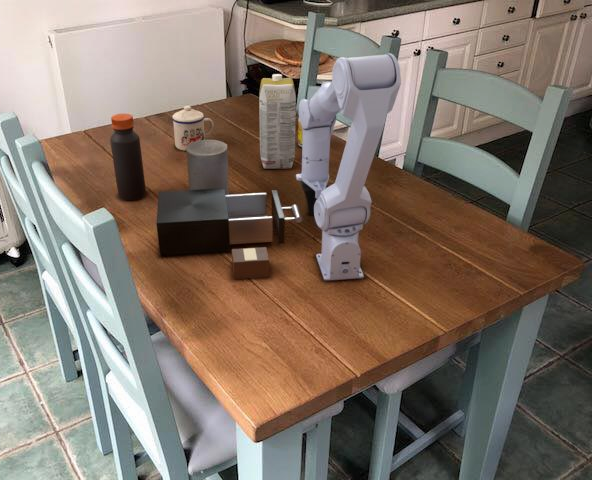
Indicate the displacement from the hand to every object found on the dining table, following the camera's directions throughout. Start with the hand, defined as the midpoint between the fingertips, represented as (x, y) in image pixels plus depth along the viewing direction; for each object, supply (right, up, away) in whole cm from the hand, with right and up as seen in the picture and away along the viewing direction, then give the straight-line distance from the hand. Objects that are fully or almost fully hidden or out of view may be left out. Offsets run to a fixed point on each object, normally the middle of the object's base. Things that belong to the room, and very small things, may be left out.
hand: (313, 213), depth 139 cm
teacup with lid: (-32, +23, +45) cm, 60 cm away
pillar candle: (-24, +4, +15) cm, 29 cm away
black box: (-26, -5, 0) cm, 27 cm away
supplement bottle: (+1, +23, +44) cm, 50 cm away
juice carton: (-8, +16, +33) cm, 37 cm away
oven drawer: (-12, -4, +1) cm, 12 cm away
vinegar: (-44, +6, +18) cm, 48 cm away
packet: (-14, -13, -12) cm, 22 cm away
